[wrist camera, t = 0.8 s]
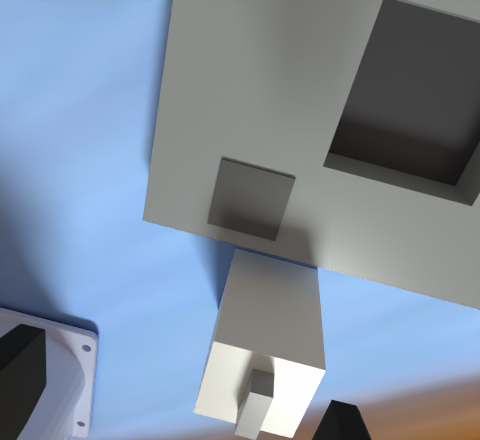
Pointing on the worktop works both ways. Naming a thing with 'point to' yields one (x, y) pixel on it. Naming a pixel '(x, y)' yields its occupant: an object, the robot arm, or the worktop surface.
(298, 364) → the charger
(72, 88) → the worktop surface
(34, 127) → the worktop surface
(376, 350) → the worktop surface
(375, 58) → the plate
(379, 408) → the worktop surface
